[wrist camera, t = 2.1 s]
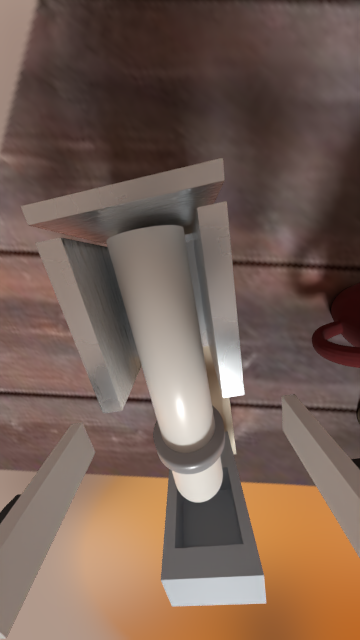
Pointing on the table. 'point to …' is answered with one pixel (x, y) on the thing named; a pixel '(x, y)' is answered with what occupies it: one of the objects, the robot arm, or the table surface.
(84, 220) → the grey u-shaped bracket
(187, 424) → the slip tube
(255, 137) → the table surface
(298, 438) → the robot arm
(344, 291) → the mug
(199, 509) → the socket block
